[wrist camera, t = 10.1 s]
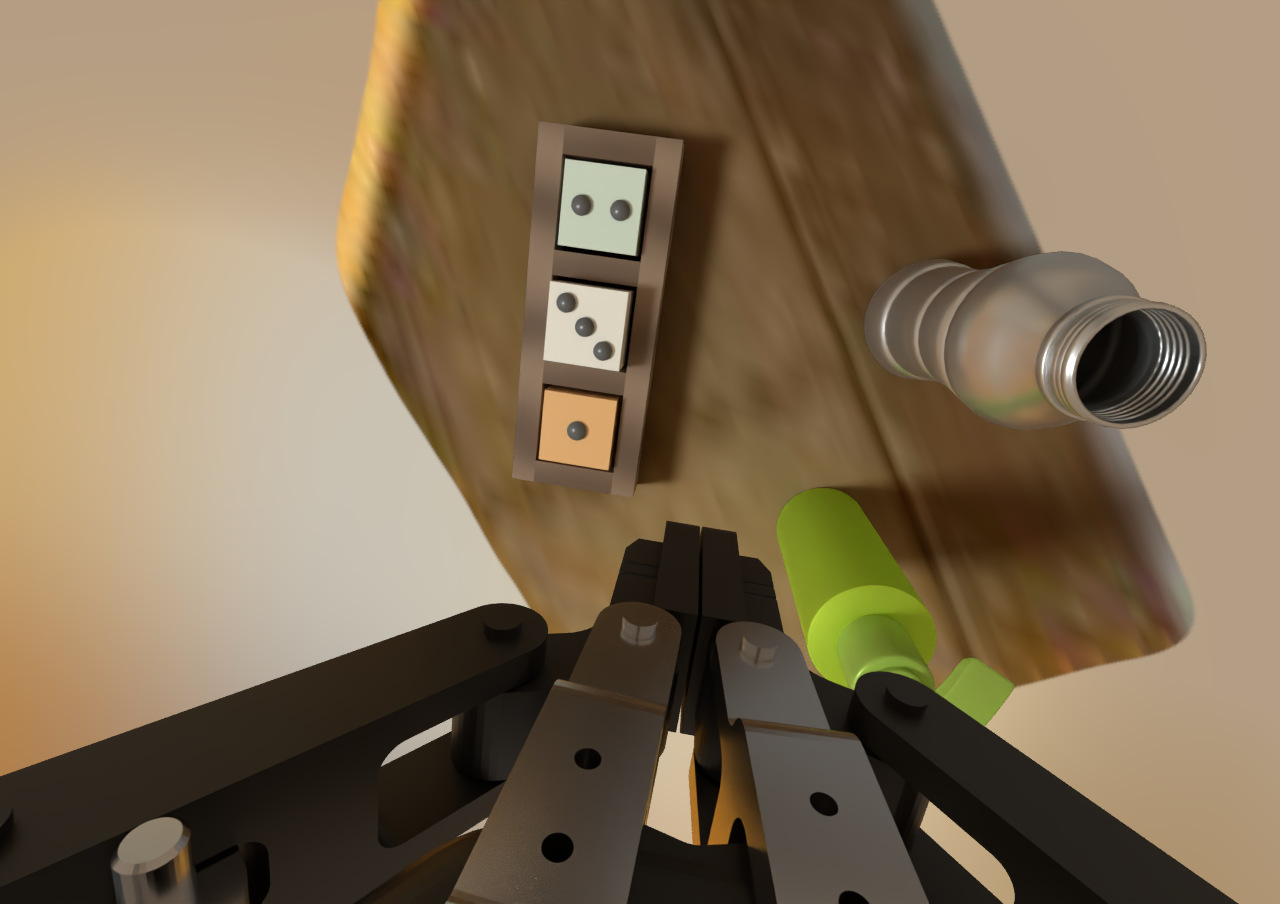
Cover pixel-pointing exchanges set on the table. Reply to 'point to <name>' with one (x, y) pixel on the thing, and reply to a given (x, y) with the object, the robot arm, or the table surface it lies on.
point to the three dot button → (588, 325)
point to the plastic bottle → (1037, 340)
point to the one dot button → (579, 426)
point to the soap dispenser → (867, 604)
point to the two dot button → (603, 207)
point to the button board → (645, 275)
